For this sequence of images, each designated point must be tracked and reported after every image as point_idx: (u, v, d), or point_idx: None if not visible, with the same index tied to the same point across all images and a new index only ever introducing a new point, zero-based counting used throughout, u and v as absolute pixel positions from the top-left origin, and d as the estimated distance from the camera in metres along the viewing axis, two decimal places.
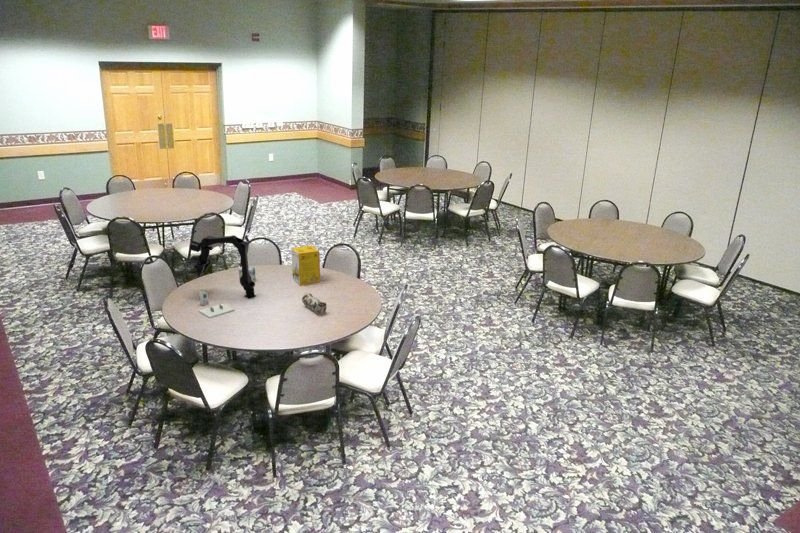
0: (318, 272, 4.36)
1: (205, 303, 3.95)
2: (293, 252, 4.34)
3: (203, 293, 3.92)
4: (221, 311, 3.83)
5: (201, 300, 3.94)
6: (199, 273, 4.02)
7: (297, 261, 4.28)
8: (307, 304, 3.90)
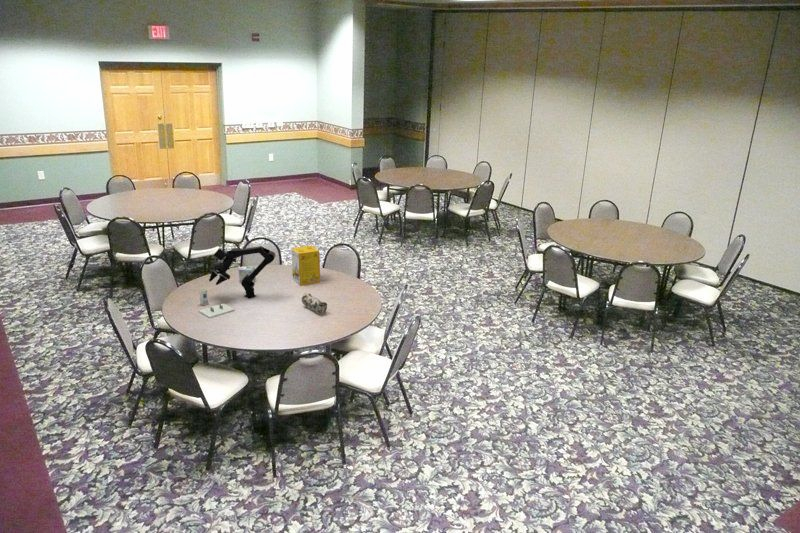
0: (318, 272, 4.36)
1: (205, 303, 3.95)
2: (293, 252, 4.34)
3: (203, 293, 3.92)
4: (221, 311, 3.83)
5: (201, 300, 3.94)
6: (219, 282, 3.95)
7: (297, 261, 4.28)
8: (307, 304, 3.90)
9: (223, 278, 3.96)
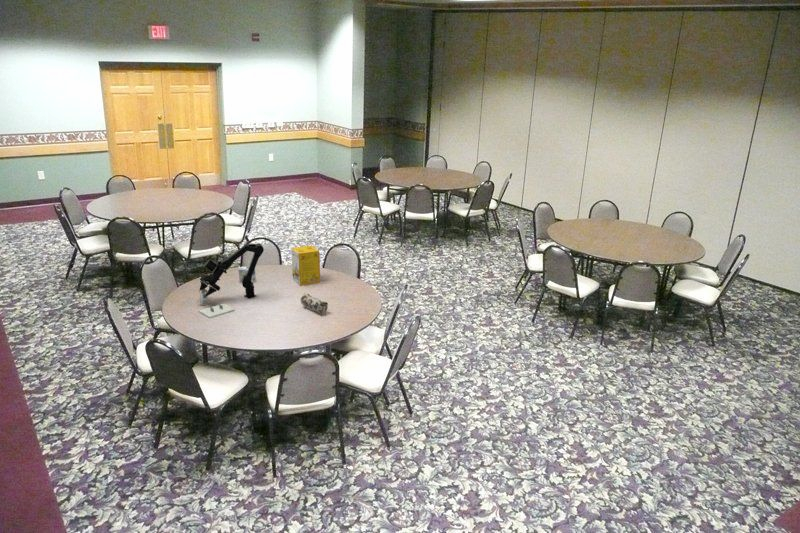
0: (318, 272, 4.36)
1: (205, 303, 3.95)
2: (293, 252, 4.34)
3: (203, 293, 3.92)
4: (221, 311, 3.83)
5: (201, 300, 3.94)
6: (209, 293, 3.91)
7: (297, 261, 4.28)
8: (307, 304, 3.89)
9: (213, 289, 3.92)
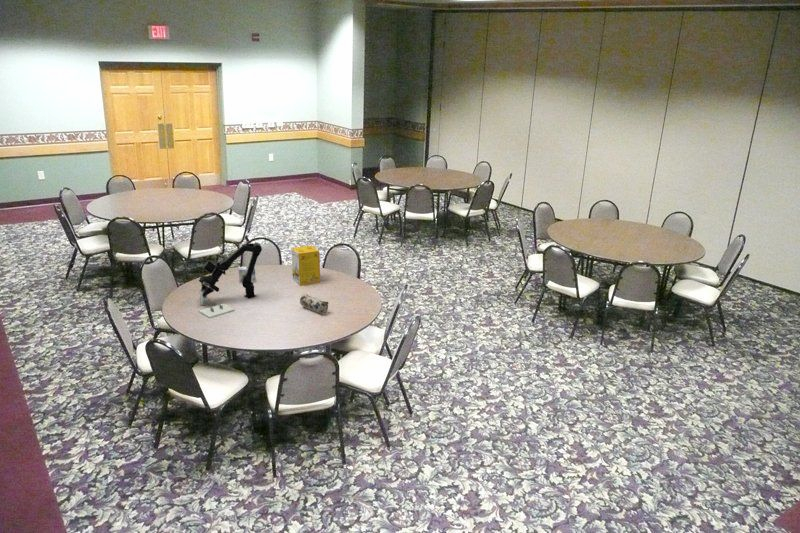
0: (318, 272, 4.36)
1: (205, 303, 3.95)
2: (293, 252, 4.34)
3: (203, 293, 3.92)
4: (221, 311, 3.83)
5: (201, 300, 3.94)
6: (206, 293, 3.93)
7: (297, 261, 4.28)
8: (307, 305, 3.89)
9: None
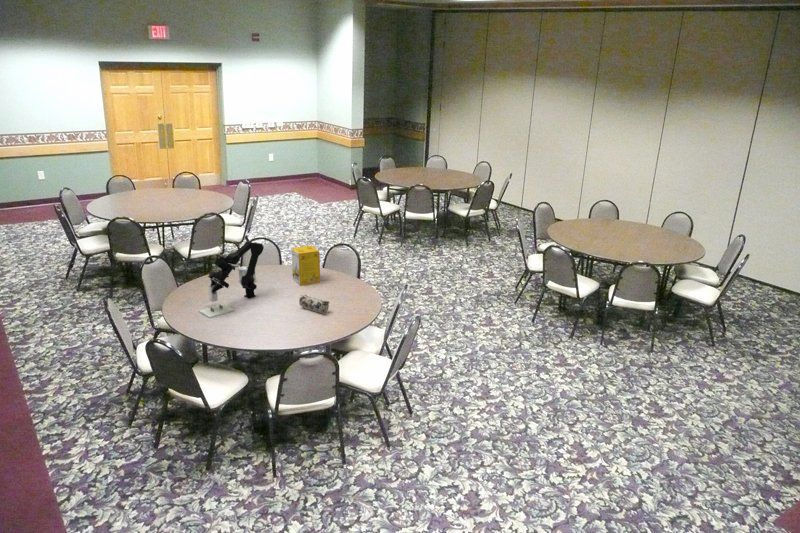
0: (318, 272, 4.36)
1: (214, 299, 3.83)
2: (293, 252, 4.34)
3: (212, 289, 3.80)
4: (221, 311, 3.83)
5: (210, 296, 3.82)
6: (216, 289, 3.81)
7: (297, 261, 4.28)
8: (307, 305, 3.88)
9: (220, 286, 3.82)
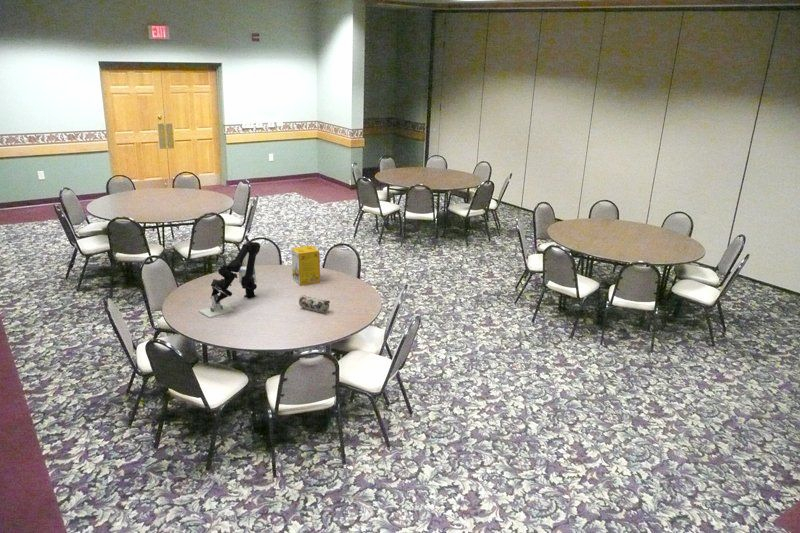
0: (318, 272, 4.36)
1: (217, 309, 3.84)
2: (293, 252, 4.34)
3: (215, 299, 3.81)
4: (221, 311, 3.83)
5: (214, 306, 3.82)
6: (220, 299, 3.80)
7: (297, 261, 4.28)
8: (307, 305, 3.88)
9: (224, 295, 3.81)
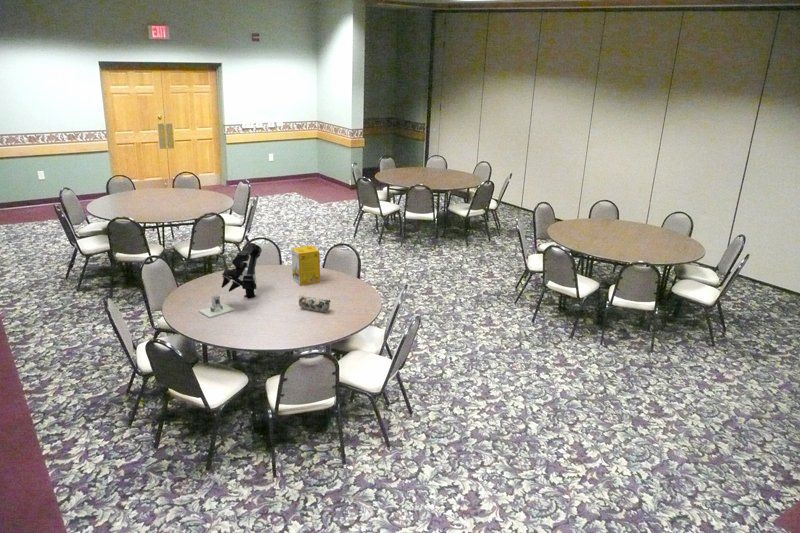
0: (318, 272, 4.36)
1: (217, 309, 3.84)
2: (293, 252, 4.34)
3: (215, 299, 3.81)
4: (221, 311, 3.83)
5: (214, 306, 3.82)
6: (232, 288, 3.84)
7: (297, 261, 4.28)
8: (307, 306, 3.88)
9: (236, 284, 3.85)
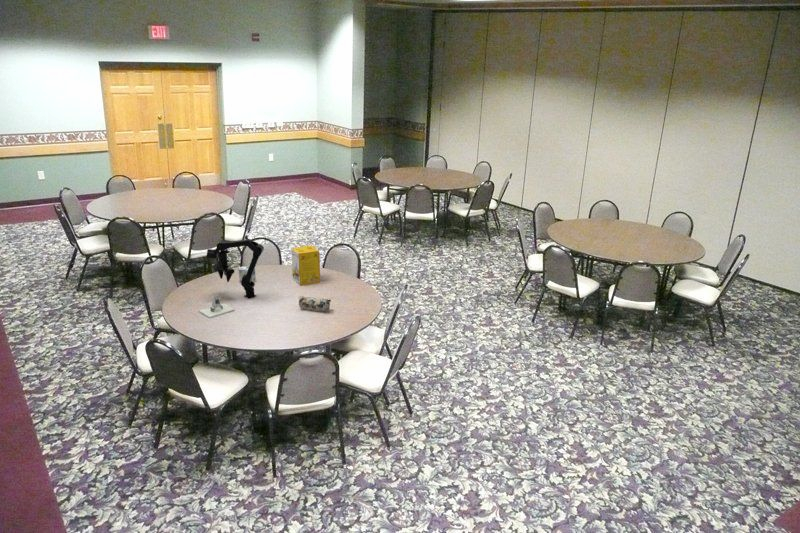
0: (318, 272, 4.36)
1: (217, 309, 3.84)
2: (293, 252, 4.34)
3: (215, 299, 3.81)
4: (221, 311, 3.83)
5: (214, 306, 3.82)
6: (229, 278, 4.03)
7: (297, 261, 4.28)
8: (308, 306, 3.87)
9: (229, 273, 4.02)
